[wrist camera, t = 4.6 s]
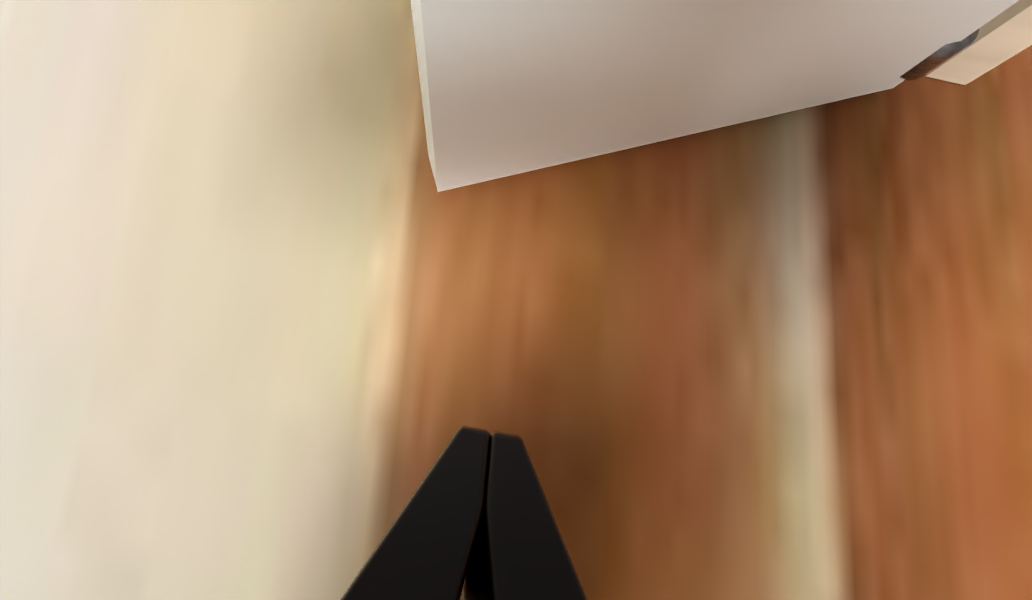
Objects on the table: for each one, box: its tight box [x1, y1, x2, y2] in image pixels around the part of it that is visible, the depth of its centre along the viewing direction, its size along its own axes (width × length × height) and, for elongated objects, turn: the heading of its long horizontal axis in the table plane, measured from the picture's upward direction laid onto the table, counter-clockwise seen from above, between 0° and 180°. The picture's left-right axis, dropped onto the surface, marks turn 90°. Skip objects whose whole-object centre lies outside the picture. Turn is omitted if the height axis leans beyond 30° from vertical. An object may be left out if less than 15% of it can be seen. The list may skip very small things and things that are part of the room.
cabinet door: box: [410, 0, 1019, 192], centre depth 16 cm, size 2×17×11 cm, turn 105°
